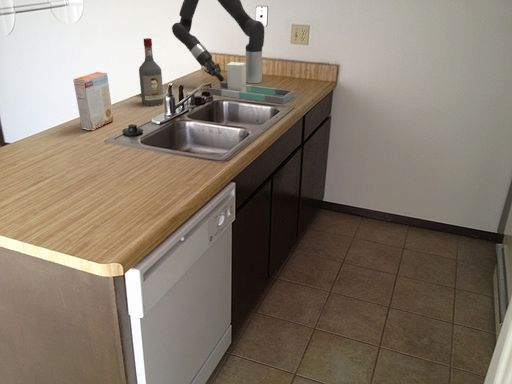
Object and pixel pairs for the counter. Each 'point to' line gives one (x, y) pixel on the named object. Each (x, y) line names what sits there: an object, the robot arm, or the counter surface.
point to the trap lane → (279, 94)
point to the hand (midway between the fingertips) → (222, 80)
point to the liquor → (150, 78)
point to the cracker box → (93, 100)
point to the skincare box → (236, 76)
